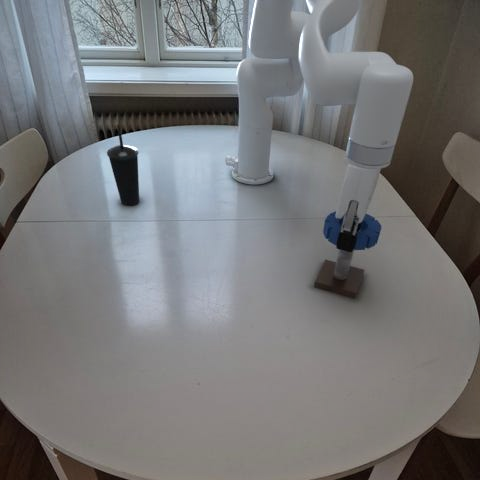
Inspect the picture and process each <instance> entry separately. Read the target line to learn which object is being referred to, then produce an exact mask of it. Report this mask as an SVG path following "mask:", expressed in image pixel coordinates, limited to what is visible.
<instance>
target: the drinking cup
mask: <svg viewBox="0 0 480 480" xmlns="http://www.w3.org/2000/svg"><path fill="white" fill-rule="evenodd" d="M116 127H117V133H118V139H119V145H115V146H113V147H111V148H109V149H108V150H107V151H106V155H107V157H108V159H109V163H110V166H111V169H112V173H113V177H114V181H115V184H116V188H117V191H118V196H119V199H120V202H121V204H122V205H123V206H126V207H133V206H136V205H138V204H140V184H139V183H140V182H139V158H138V157H139V156H138V155H139V150H138V148H137V147H135V146H131V145H128V144H127V145H126V144H124V142H123V136H122V130H121V124H117V125H116Z"/></svg>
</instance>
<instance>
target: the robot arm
mask: <svg viewBox="0 0 480 480" xmlns="http://www.w3.org/2000/svg"><path fill="white" fill-rule="evenodd" d="M294 3H295V0H254V4H253V10H252V16H251V22H250V23H251V24H250V29H249V35H248V48H249V51H250V53H251V54H252V55H253V56H249V57H246V58H244V59H242V60H241V61H240V62H239V63H238V65H237V68H236V84H237V93H238V94H237V95H238V132H237V133H238V135H237V156H236V157H233V156H230V155H226V156H225V159H224V161H225V166H227V167H232V169H231V176H232V178H233V179H234V180H235V181H237V182H239V183H242V184H245V185H263V184H267V183H269V182H271V181H272V180H273V178H274V171H273V170H272V169H271V168H270V157H271V146H272V133H273V122H274V115H273V111H272V109H271V107H270V106H269V104H268V102H267V101H266V99H269V98H271V99H272V98H284V97H293V96H295V95H296V94H297V93H299V91H300V89H301V88H302V85H303V83H304V85H305V88H306V91H307V93H308V95H309V97H310V99H311V100H312V101H313V103H315V104H317V105H318V106H322V107H335V106H349V105H350V106H351V105H354V106H355V107H354V110H353V115H352V119H351V125H350V130H349V134H348V140H347V144H346V149H345V154H344V159H345V161H347V162H348V165H347V168H346V171H345V175H344V179H343V182H342V187H341V192H340V195H339V200H338V203H337V207H336V210H335V211H336V215H335V216H336V218H337V219H338V218H340V219H341V218H342V217H343V216H344V218H343V223H342V227H341V229H340V232H339V237H338V241H337V245H335V248H336V250H338V251H339V250H343V251H347V252H352V251H353V249H354V245H355V241H356V237H357V233H356V231H360V227H361V222H362V221H363V218H364V216H365V214H367V211H368V210H369V207H370V205H371V202H372V199H373V197H374V194H375V191H376V188H377V184H378V181H379V177H380V174H381V170H382V169H384V168H387V167H389V166H390V164H391V162H392V158H393V156H394V155H393V154H394V151H395V147H396V144H397V140H398V136H399V134H400V130H401V126H402V123H403V120H404V116H405V114H406V112H405V111H406V110H407V105H408V102H409V98H410V95H411V91H412V87H413V83H414V74H413V71H412V70H411V69H410V68H408V67H406V66H404V65H401V64H397V63H396V62H395V60H394V59H393V58H392V57H391V56H390V55H389V54H388V53H386V52H383V51H336V52H330V51H328V50H327V49H328V48H327V47H326V44H325V42H324V40H325V39H327V38H328V37H330V36H332V35H333V34H336V33H337V32H339V31H341V30H342V29H344V28H346V27H347V25H348V24H350V22H351V21H353V19H354V17H355V16H356V15H357V13H358V12H359V9H360V5H361V0H305V3H306V7H307V10H308V13H309V14H308V13H307V12H304V11H293V6H294ZM344 214H345V215H344Z"/></svg>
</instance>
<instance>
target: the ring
mask: <svg viewBox="0 0 480 480" xmlns="http://www.w3.org/2000/svg"><path fill="white" fill-rule="evenodd" d="M336 211H337V210H335V211H333V212H330V213H329V214H327V216H326V218H325V220H324V223H323V228H322V229H323V230H322V234H323V236H324V238H325V239H326V240H327V241H328V242H329V243H331V244H333V246H336V245H337V241H338V237H339V232H340V229H341V227H342V223H343V218H344V216H343V217H342V218H341V219H340V218H338V219H337V218H336V216H335V215H336ZM344 215H345V214H344ZM382 228H383V227H382V224H381V222H380V221H379V220H378V219H376V217H374V216H372V215H371V214H368V213H366V214H365V216H364V218H363V221H362V222H361V227H360V231H356V233H357V237H356V241H355V245H354V251H365V250H366V249H367V250H369V249H371V248H373V247H375V246H376V245H377V244H378V241H379V238H380V235H381V231H382Z"/></svg>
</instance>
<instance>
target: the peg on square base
mask: <svg viewBox="0 0 480 480" xmlns="http://www.w3.org/2000/svg"><path fill="white" fill-rule="evenodd" d="M354 253H355V250H354V249H353V251H352V252H347V251H343V250H339V249H338V253H337V257H336V261H333V260H328V259H324V261H323V264H322V266H321V268H320V270H319V272H318V274H317V276H316V278H315V281H314V285H313V288H316V289H320V290H322V291H326V292H330V293H334V294H338V295H341V296H344V297H349V298H351V299H356V297H357V294H358V291H359V289H360V285H361V282H362V280H363V277H364V274H365V269H364V268H361V267H356V266H352V265H351V264H352V260H353V257H354Z"/></svg>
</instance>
